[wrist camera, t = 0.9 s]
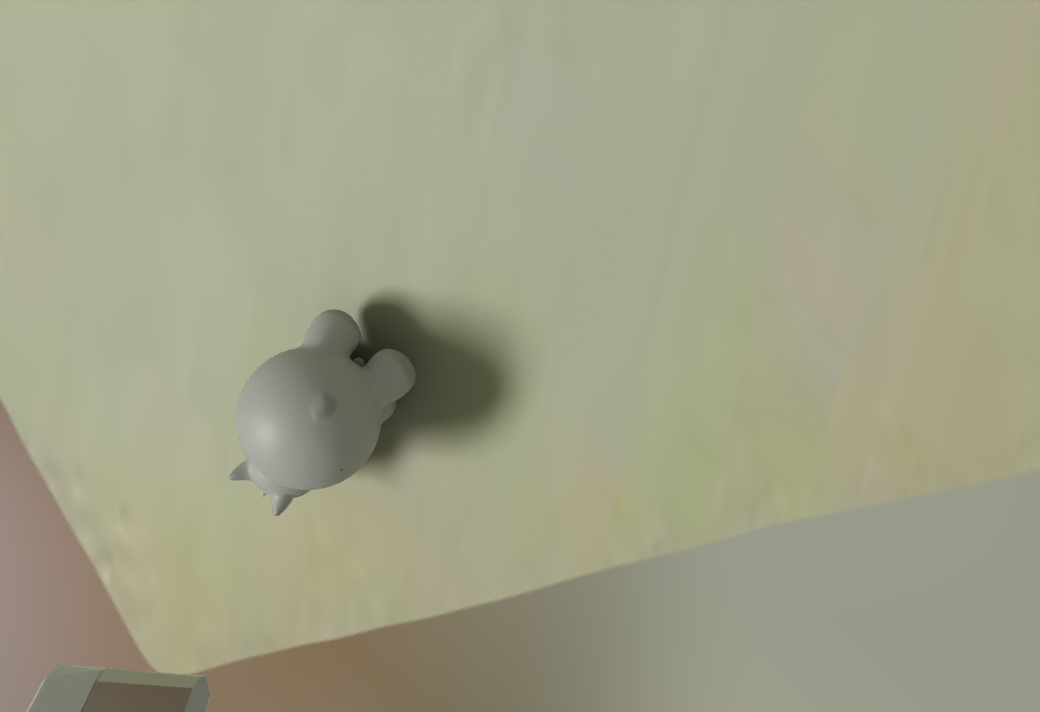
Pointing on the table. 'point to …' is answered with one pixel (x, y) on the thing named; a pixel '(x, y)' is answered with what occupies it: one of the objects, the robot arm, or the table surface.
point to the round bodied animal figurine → (316, 410)
